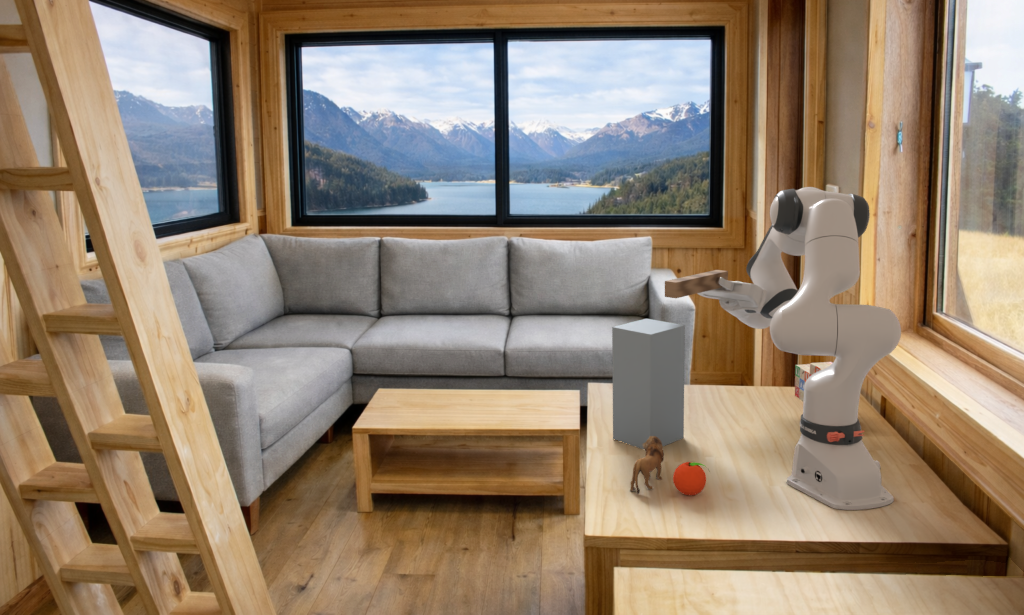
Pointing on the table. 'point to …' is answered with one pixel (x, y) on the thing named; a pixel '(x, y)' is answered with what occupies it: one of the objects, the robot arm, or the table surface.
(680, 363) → the stand
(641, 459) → the lion figurine
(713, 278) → the bar
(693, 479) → the clementine
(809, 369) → the stack of blocks
